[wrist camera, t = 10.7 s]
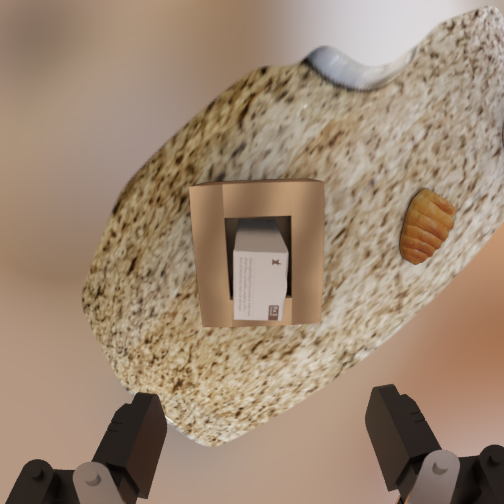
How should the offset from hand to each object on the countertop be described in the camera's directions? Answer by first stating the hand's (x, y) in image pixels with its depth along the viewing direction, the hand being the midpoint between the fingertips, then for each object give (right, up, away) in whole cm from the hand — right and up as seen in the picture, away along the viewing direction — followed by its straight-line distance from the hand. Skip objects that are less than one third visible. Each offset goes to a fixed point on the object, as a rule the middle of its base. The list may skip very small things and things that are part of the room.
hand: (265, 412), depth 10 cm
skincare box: (0, +7, +25) cm, 26 cm away
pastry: (+22, +10, +24) cm, 34 cm away
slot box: (0, +7, +25) cm, 26 cm away
